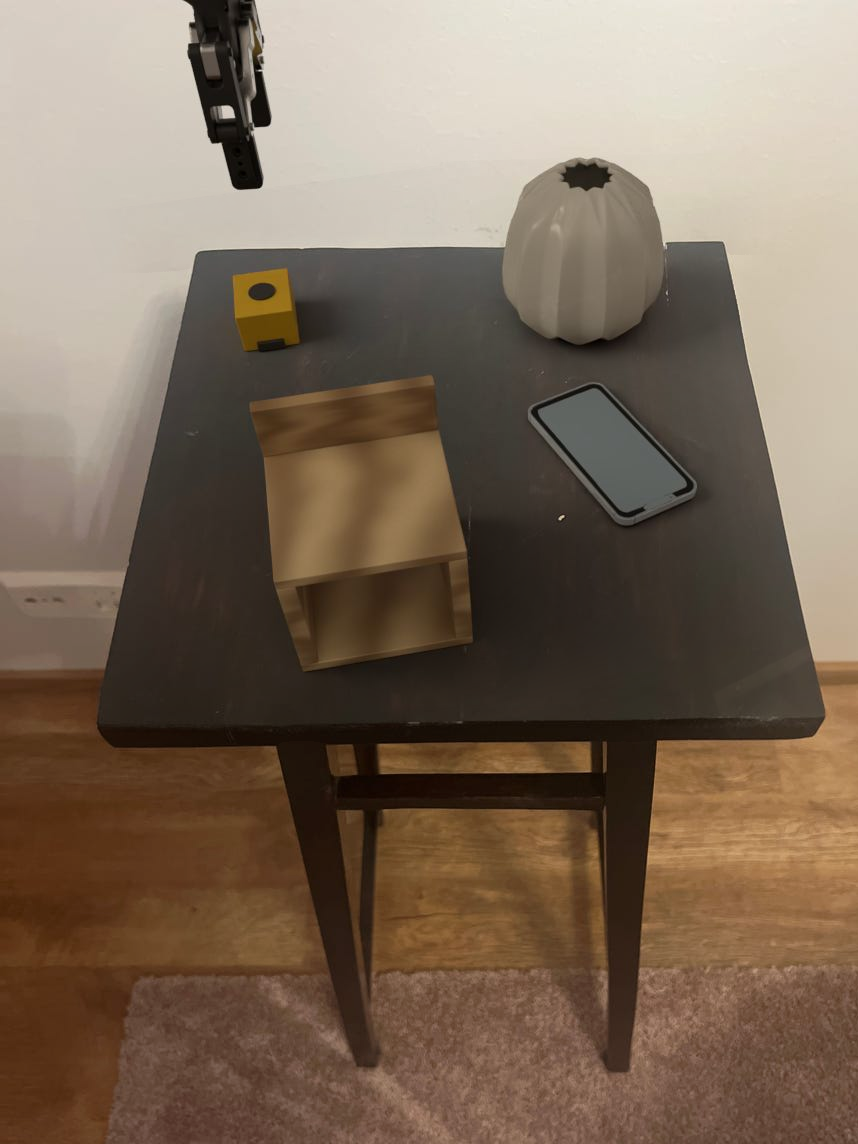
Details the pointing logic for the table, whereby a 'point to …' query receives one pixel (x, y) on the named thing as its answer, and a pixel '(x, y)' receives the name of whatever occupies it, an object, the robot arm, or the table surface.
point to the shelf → (363, 523)
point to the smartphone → (612, 453)
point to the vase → (583, 252)
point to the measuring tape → (265, 310)
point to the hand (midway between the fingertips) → (253, 155)
